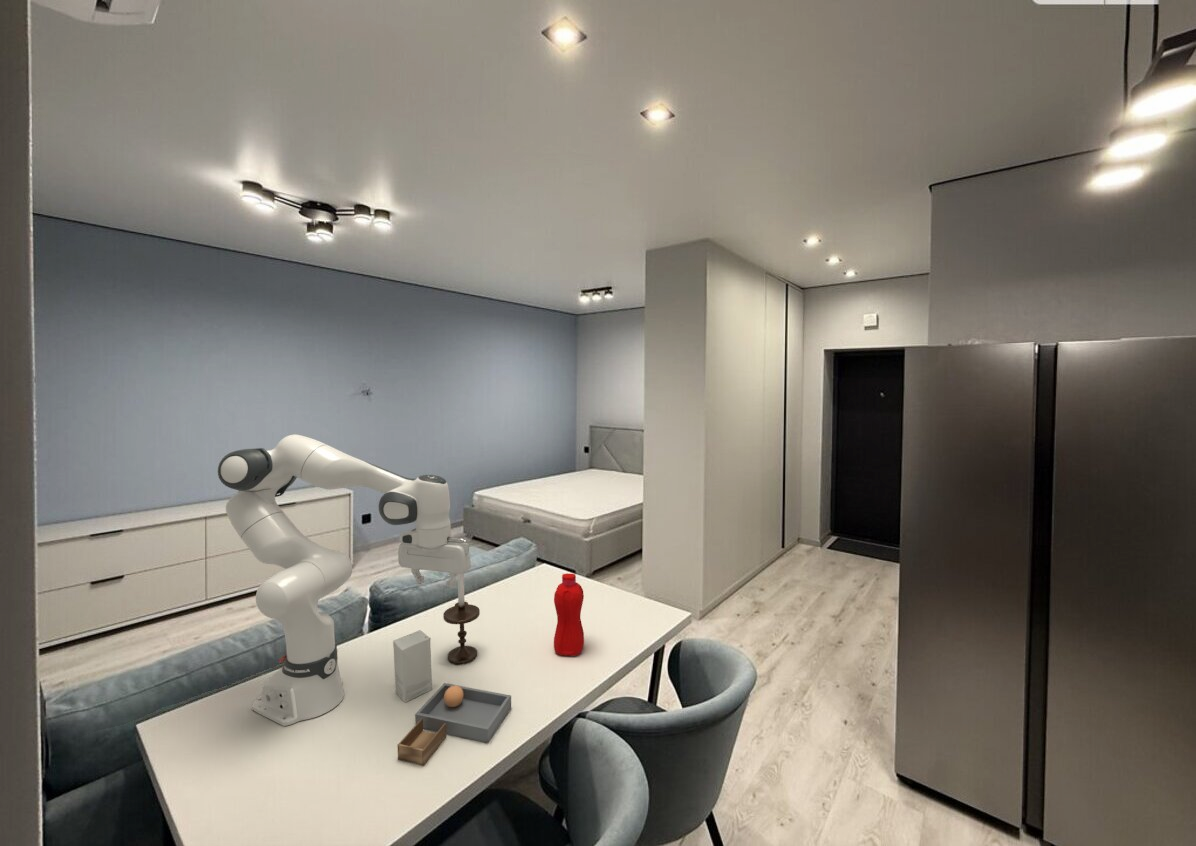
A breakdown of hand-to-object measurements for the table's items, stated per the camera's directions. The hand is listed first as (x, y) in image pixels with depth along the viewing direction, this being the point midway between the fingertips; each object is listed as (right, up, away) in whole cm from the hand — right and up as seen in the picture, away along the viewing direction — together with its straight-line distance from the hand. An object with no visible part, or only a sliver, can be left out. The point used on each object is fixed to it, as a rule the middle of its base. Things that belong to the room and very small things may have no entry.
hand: (435, 585), depth 132 cm
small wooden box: (+3, -33, -17) cm, 37 cm away
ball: (+6, -28, -3) cm, 29 cm away
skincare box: (-7, -31, +4) cm, 32 cm away
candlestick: (+2, -30, +21) cm, 36 cm away
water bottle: (+35, -29, +26) cm, 52 cm away
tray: (+10, -32, -6) cm, 34 cm away
